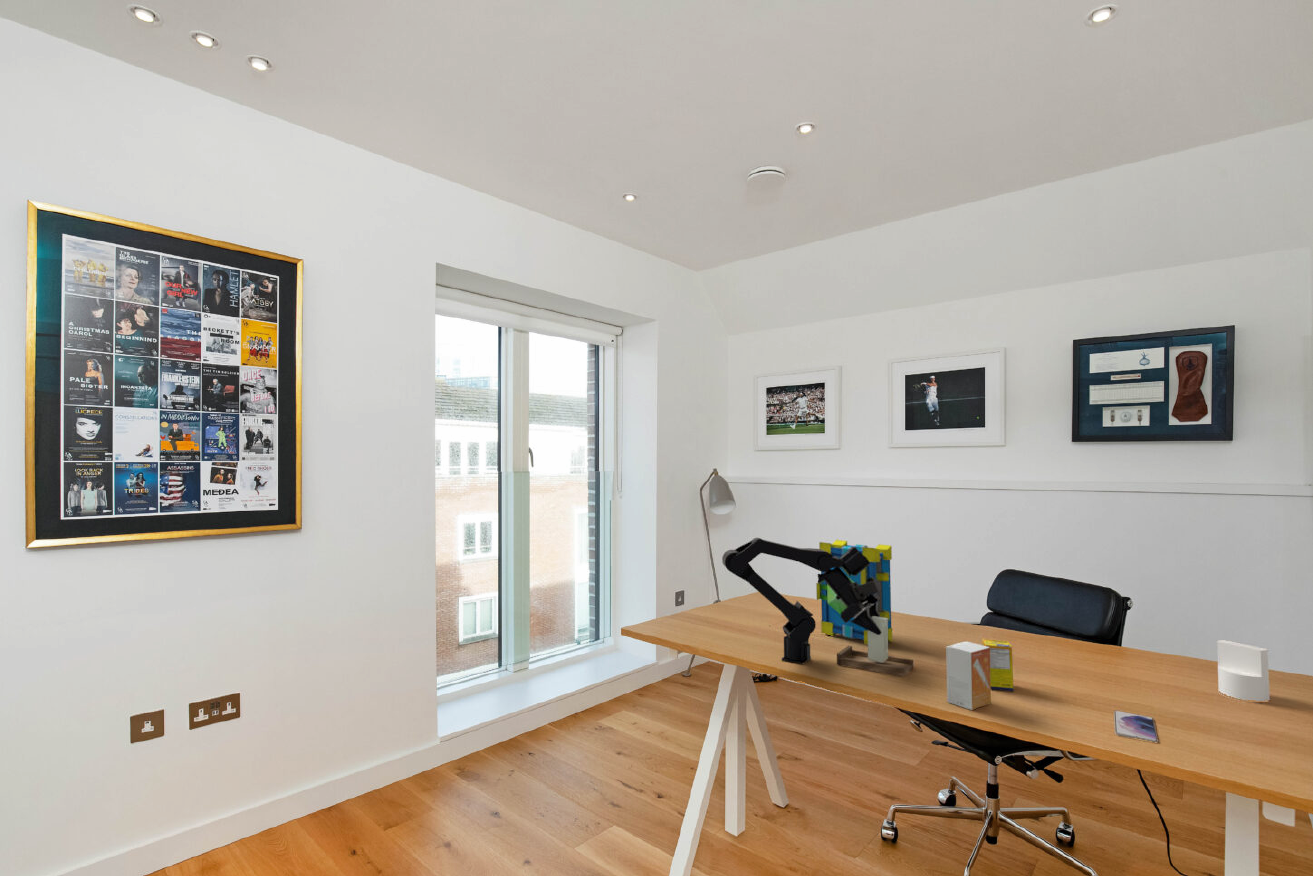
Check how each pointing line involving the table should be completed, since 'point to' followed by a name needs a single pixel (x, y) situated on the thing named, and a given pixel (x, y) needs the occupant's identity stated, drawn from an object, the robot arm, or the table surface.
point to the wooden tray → (861, 662)
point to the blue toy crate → (876, 569)
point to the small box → (968, 675)
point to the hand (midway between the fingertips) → (882, 632)
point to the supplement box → (1000, 664)
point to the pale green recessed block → (878, 641)
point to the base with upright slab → (1243, 671)
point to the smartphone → (1134, 726)
